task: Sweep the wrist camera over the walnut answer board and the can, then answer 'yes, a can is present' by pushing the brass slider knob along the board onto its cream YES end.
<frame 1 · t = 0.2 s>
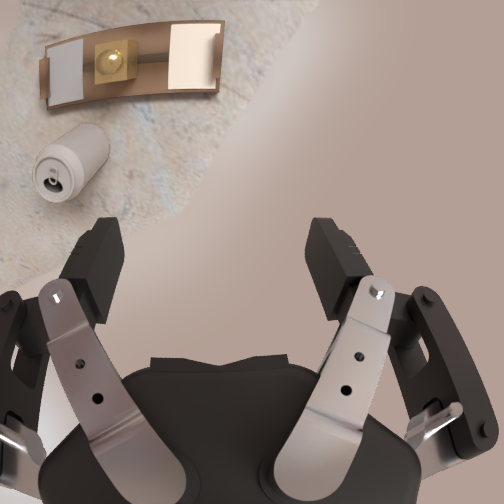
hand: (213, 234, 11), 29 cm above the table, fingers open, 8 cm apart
can: (89, 145, 34), on the table
answer board: (127, 60, 27), on the table
brass knob: (115, 61, 24), point 5 cm above the table, slide at 0.0 cm
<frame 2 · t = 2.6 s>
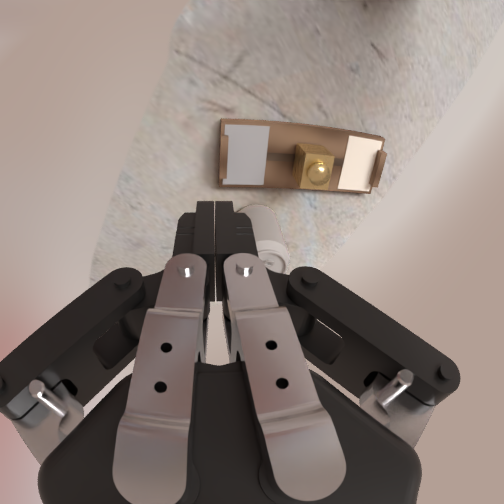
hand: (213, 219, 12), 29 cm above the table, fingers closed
can: (254, 220, 47), on the table
answer board: (303, 155, 40), on the table
brass knob: (313, 167, 37), point 5 cm above the table, slide at 0.0 cm
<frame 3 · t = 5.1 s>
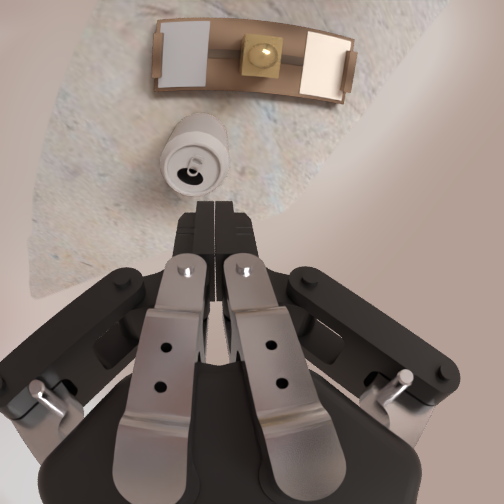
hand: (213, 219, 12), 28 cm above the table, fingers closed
can: (200, 136, 36), on the table
answer board: (255, 55, 29), on the table
brass knob: (260, 55, 26), point 5 cm above the table, slide at 0.0 cm
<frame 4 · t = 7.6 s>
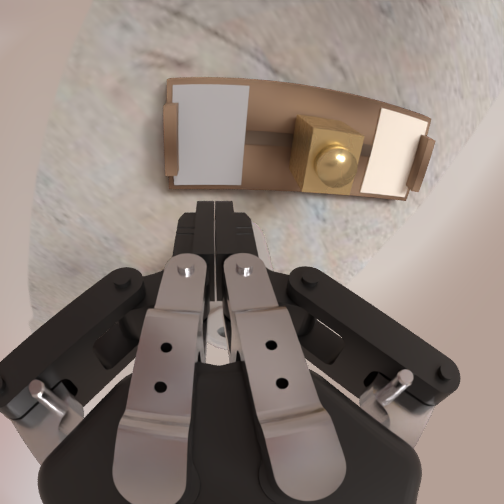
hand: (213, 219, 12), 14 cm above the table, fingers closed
can: (230, 239, 31), on the table
answer board: (308, 137, 24), on the table
brass knob: (325, 155, 20), point 5 cm above the table, slide at 0.0 cm
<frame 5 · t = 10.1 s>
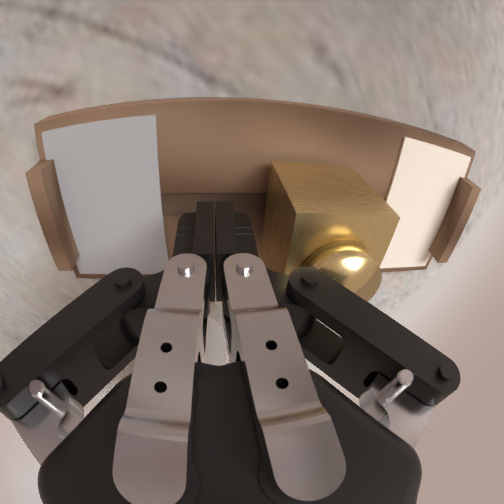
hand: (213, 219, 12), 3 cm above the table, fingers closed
can: (178, 325, 22), on the table
answer board: (277, 190, 15), on the table
brass knob: (321, 243, 12), point 5 cm above the table, slide at 1.0 cm, touching gripper
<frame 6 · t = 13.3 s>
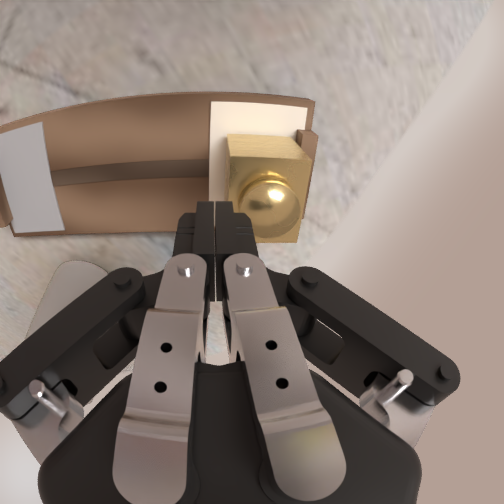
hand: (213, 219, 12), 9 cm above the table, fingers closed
can: (89, 282, 25), on the table
answer board: (128, 163, 18), on the table
brass knob: (262, 188, 16), point 5 cm above the table, slide at 9.0 cm
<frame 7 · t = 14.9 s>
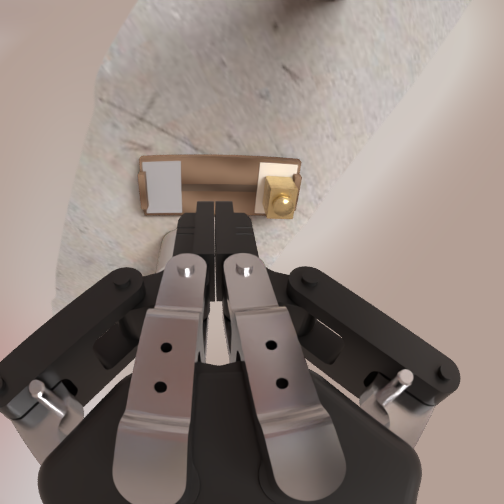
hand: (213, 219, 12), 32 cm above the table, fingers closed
can: (182, 242, 51), on the table
answer board: (219, 183, 45), on the table
brass knob: (279, 198, 42), point 5 cm above the table, slide at 9.0 cm
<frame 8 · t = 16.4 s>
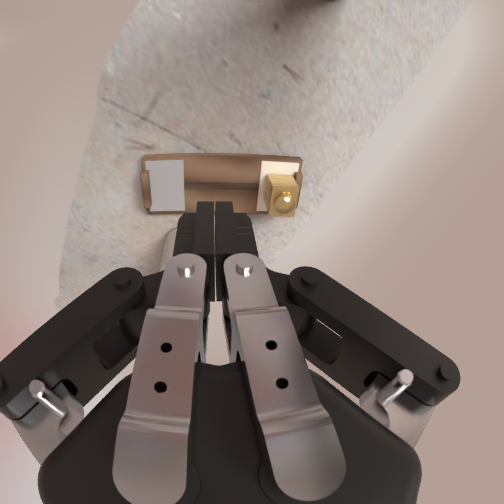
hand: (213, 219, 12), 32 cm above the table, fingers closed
can: (185, 240, 52), on the table
answer board: (221, 181, 45), on the table
brass knob: (281, 196, 43), point 5 cm above the table, slide at 9.0 cm
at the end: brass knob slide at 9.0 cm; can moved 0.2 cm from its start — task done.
